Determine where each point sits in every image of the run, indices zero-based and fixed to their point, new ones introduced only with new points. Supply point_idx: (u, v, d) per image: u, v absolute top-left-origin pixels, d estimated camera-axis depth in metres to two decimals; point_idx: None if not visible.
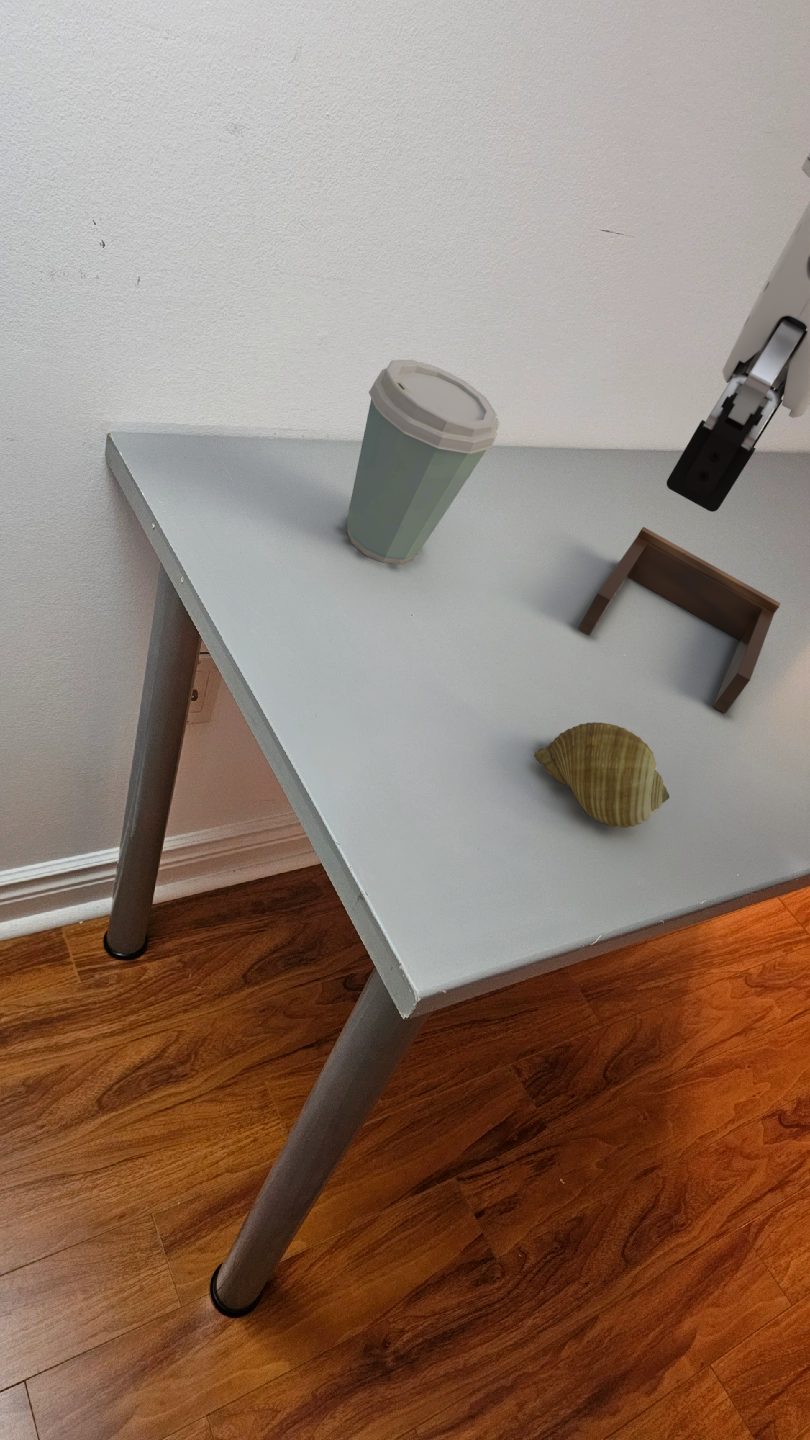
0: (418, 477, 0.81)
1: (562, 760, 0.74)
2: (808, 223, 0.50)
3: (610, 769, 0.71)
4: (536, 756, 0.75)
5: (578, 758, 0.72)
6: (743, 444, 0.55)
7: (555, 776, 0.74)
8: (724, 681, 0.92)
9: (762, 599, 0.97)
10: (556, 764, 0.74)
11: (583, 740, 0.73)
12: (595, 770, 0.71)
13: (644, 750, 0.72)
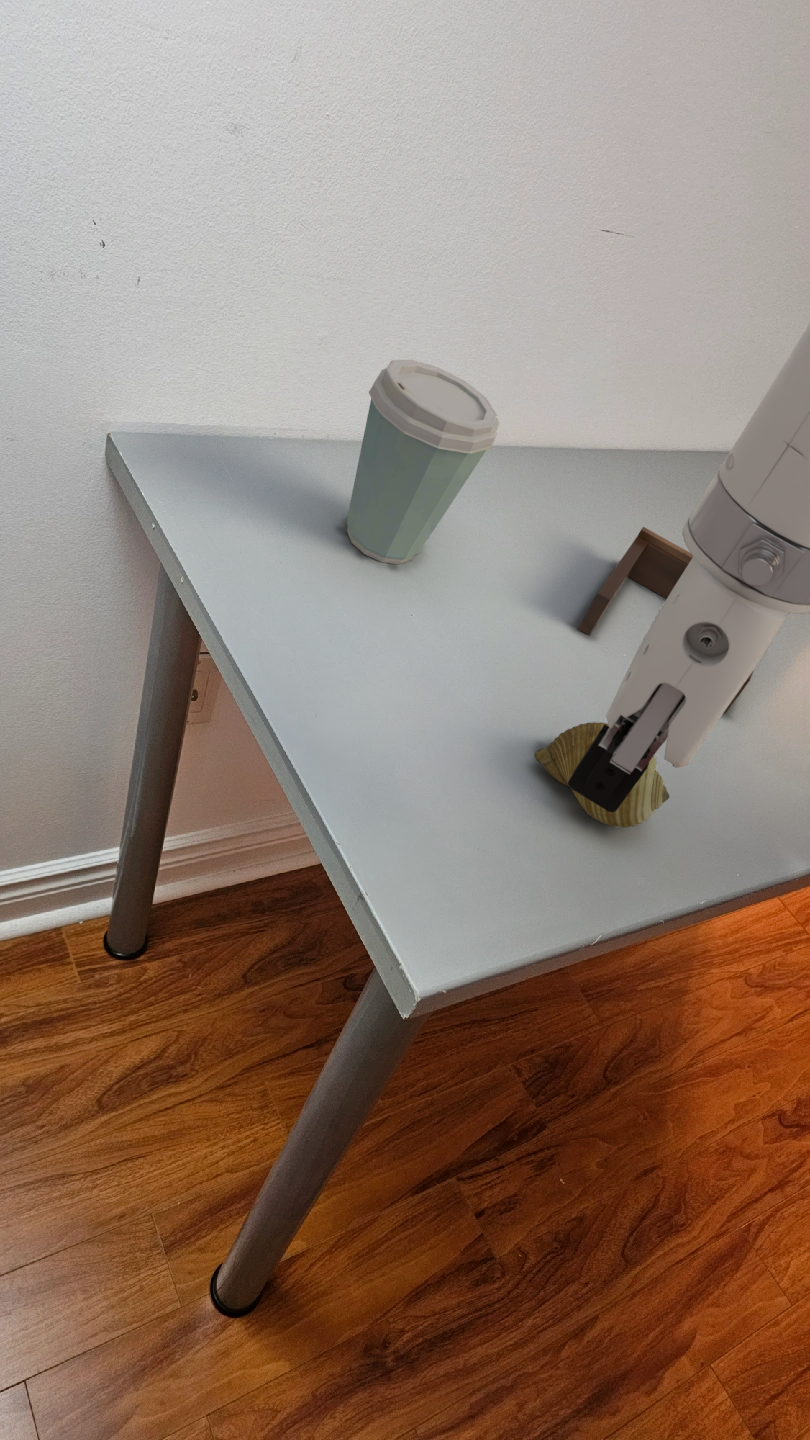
0: (418, 477, 0.81)
1: (562, 760, 0.74)
2: (684, 600, 0.49)
3: None
4: (536, 756, 0.75)
5: (578, 758, 0.72)
6: None
7: (555, 776, 0.74)
8: None
9: None
10: (556, 764, 0.74)
11: (583, 740, 0.73)
12: None
13: None
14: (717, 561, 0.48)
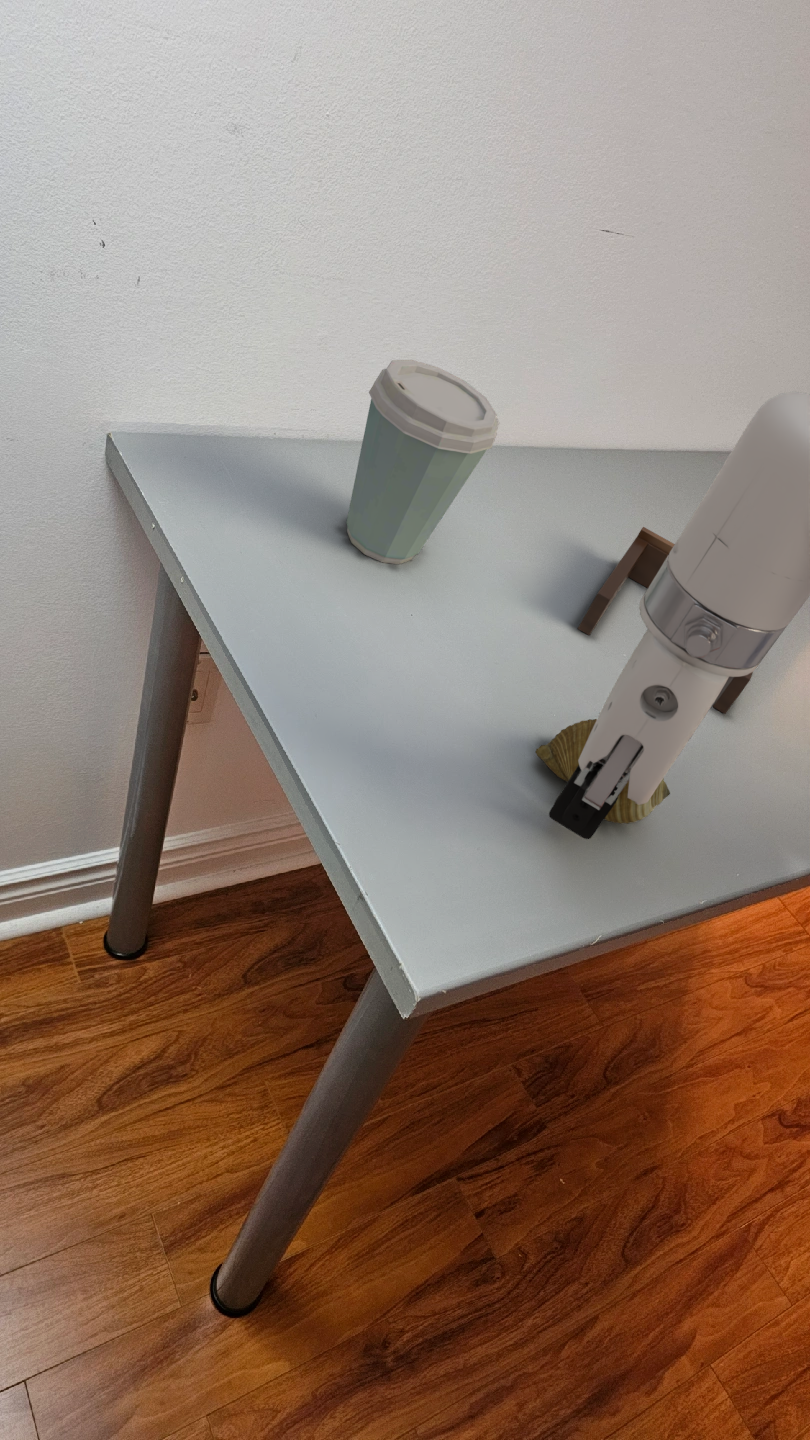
0: (418, 477, 0.81)
1: (563, 756, 0.74)
2: (640, 666, 0.58)
3: None
4: (537, 753, 0.76)
5: (579, 754, 0.72)
6: None
7: (556, 772, 0.75)
8: None
9: None
10: (557, 760, 0.74)
11: (585, 736, 0.73)
12: None
13: None
14: (667, 634, 0.57)
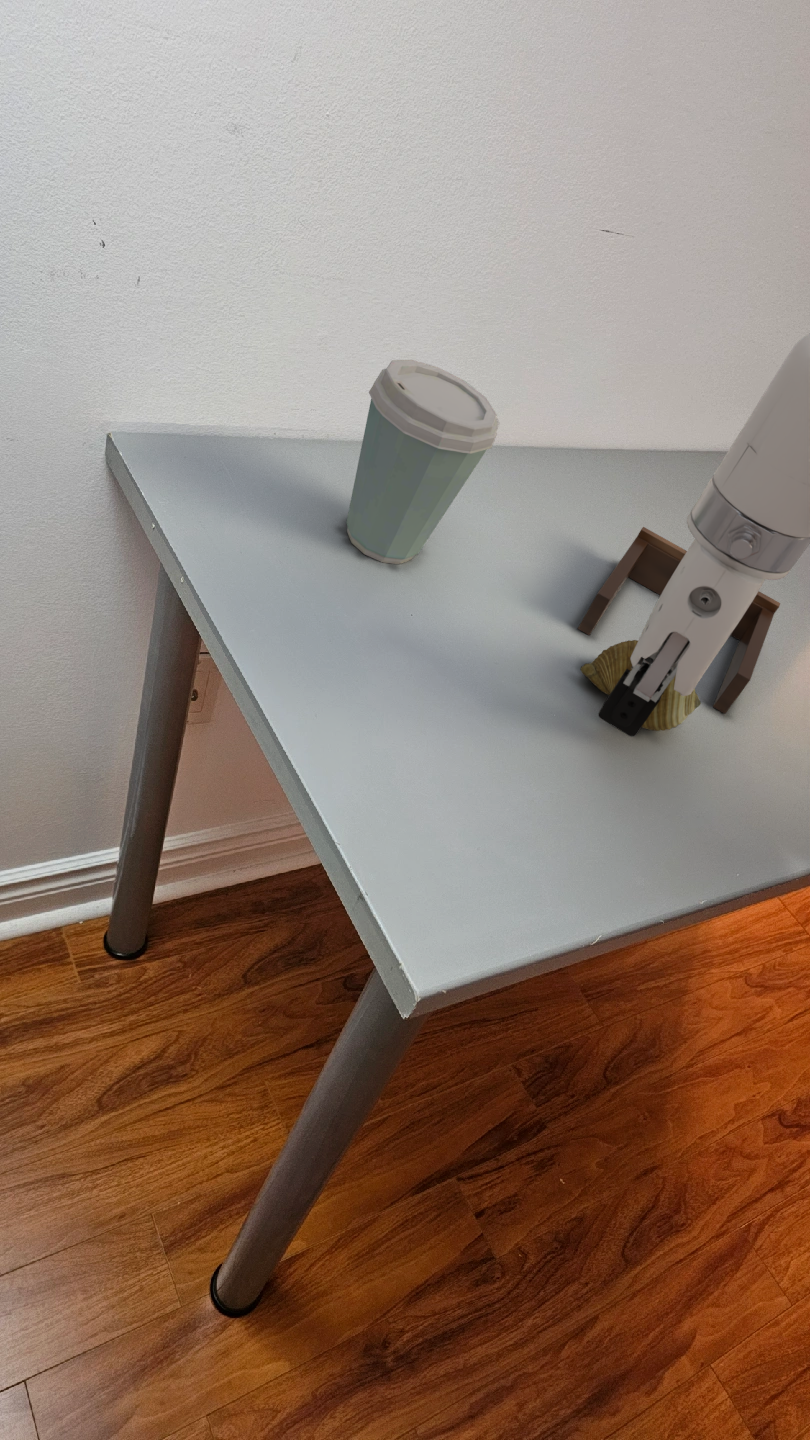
0: (418, 477, 0.81)
1: (606, 672, 0.83)
2: (688, 570, 0.68)
3: None
4: (582, 670, 0.85)
5: (621, 668, 0.82)
6: (650, 699, 0.77)
7: (599, 686, 0.84)
8: (724, 681, 0.92)
9: (762, 599, 0.97)
10: (600, 676, 0.84)
11: (625, 653, 0.82)
12: None
13: None
14: (712, 542, 0.67)
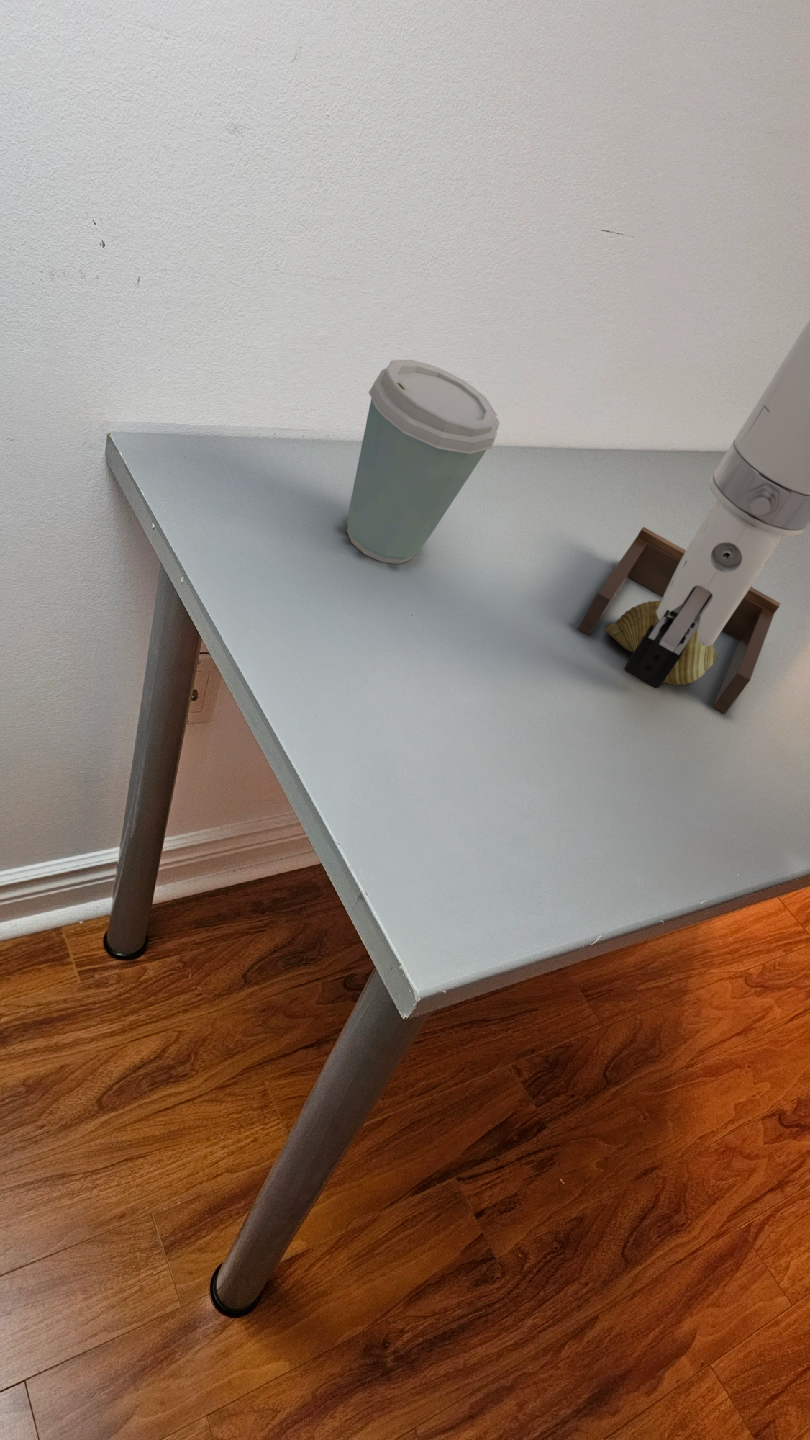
0: (418, 477, 0.81)
1: (629, 630, 0.89)
2: (711, 528, 0.73)
3: None
4: (606, 630, 0.91)
5: (644, 626, 0.88)
6: (673, 652, 0.82)
7: (623, 644, 0.90)
8: (724, 681, 0.92)
9: (762, 599, 0.97)
10: (624, 634, 0.90)
11: (648, 612, 0.88)
12: None
13: None
14: (734, 501, 0.73)
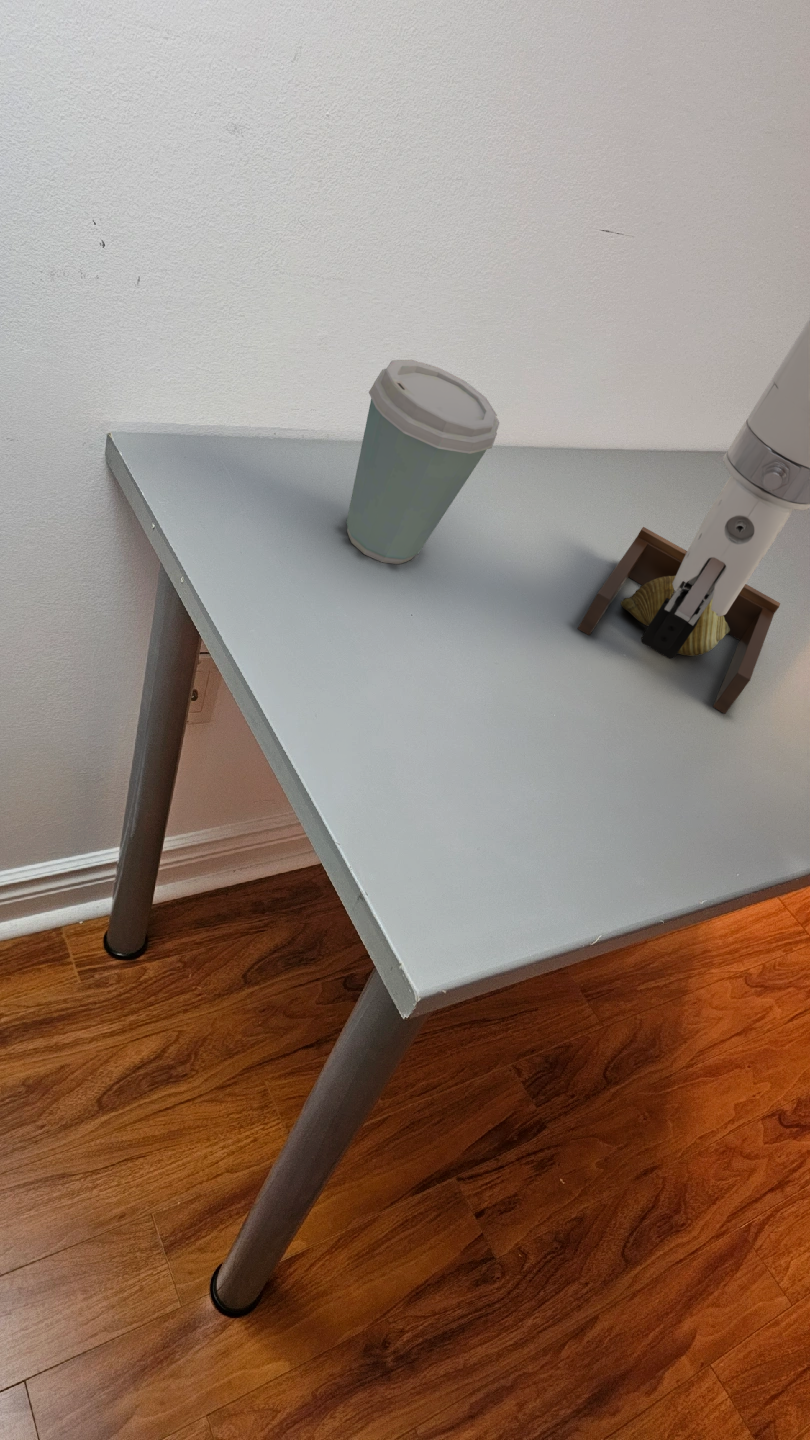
0: (418, 477, 0.81)
1: (644, 604, 0.93)
2: (725, 502, 0.78)
3: None
4: (622, 604, 0.95)
5: (659, 600, 0.92)
6: (688, 623, 0.87)
7: (638, 618, 0.94)
8: (724, 681, 0.92)
9: (762, 599, 0.97)
10: (639, 608, 0.94)
11: (662, 586, 0.92)
12: None
13: None
14: (746, 476, 0.77)
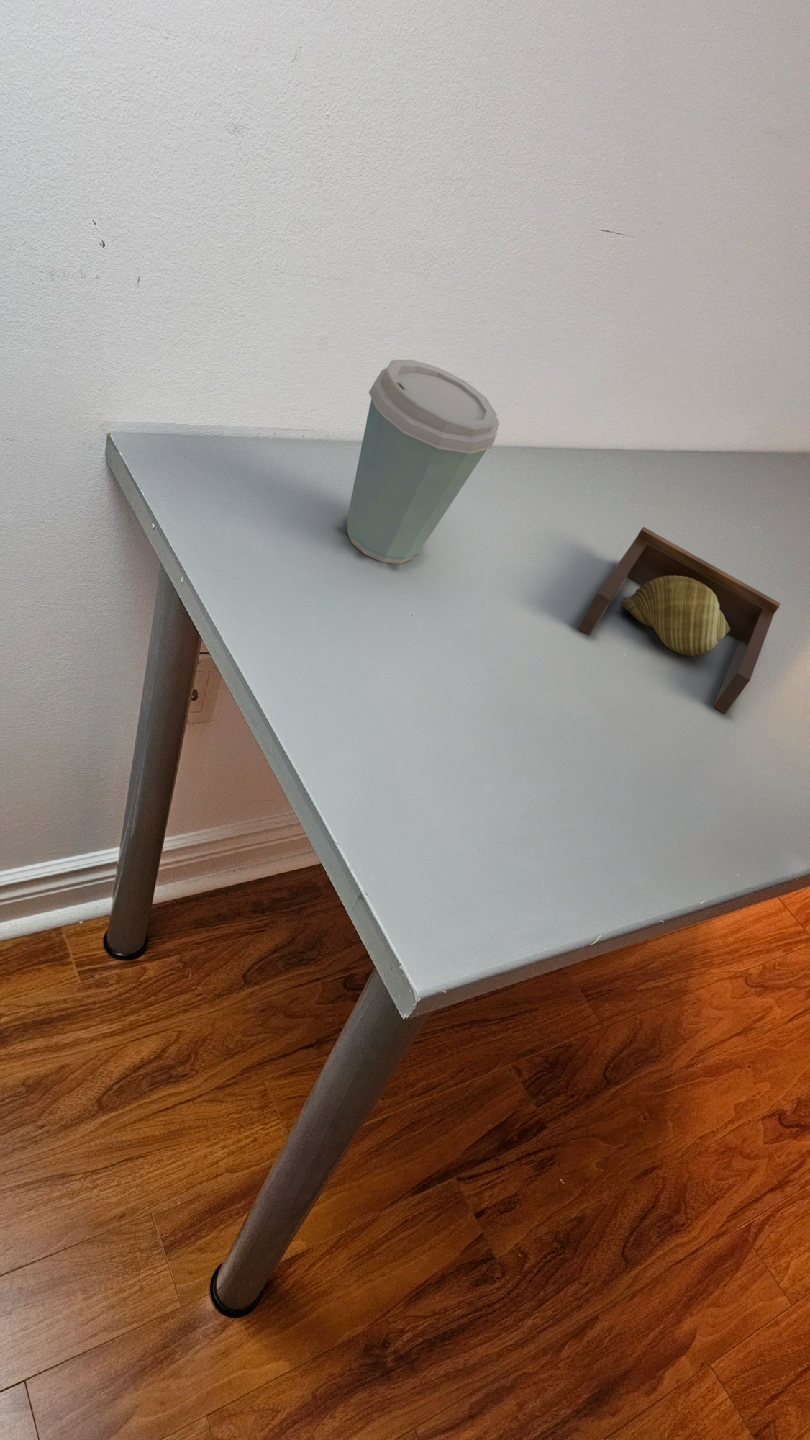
0: (418, 477, 0.81)
1: (645, 604, 0.93)
2: None
3: (686, 606, 0.91)
4: (622, 604, 0.95)
5: (659, 600, 0.92)
6: None
7: (639, 618, 0.94)
8: (724, 681, 0.92)
9: (762, 599, 0.97)
10: (639, 608, 0.94)
11: (662, 586, 0.92)
12: (674, 608, 0.91)
13: (710, 592, 0.92)
14: None
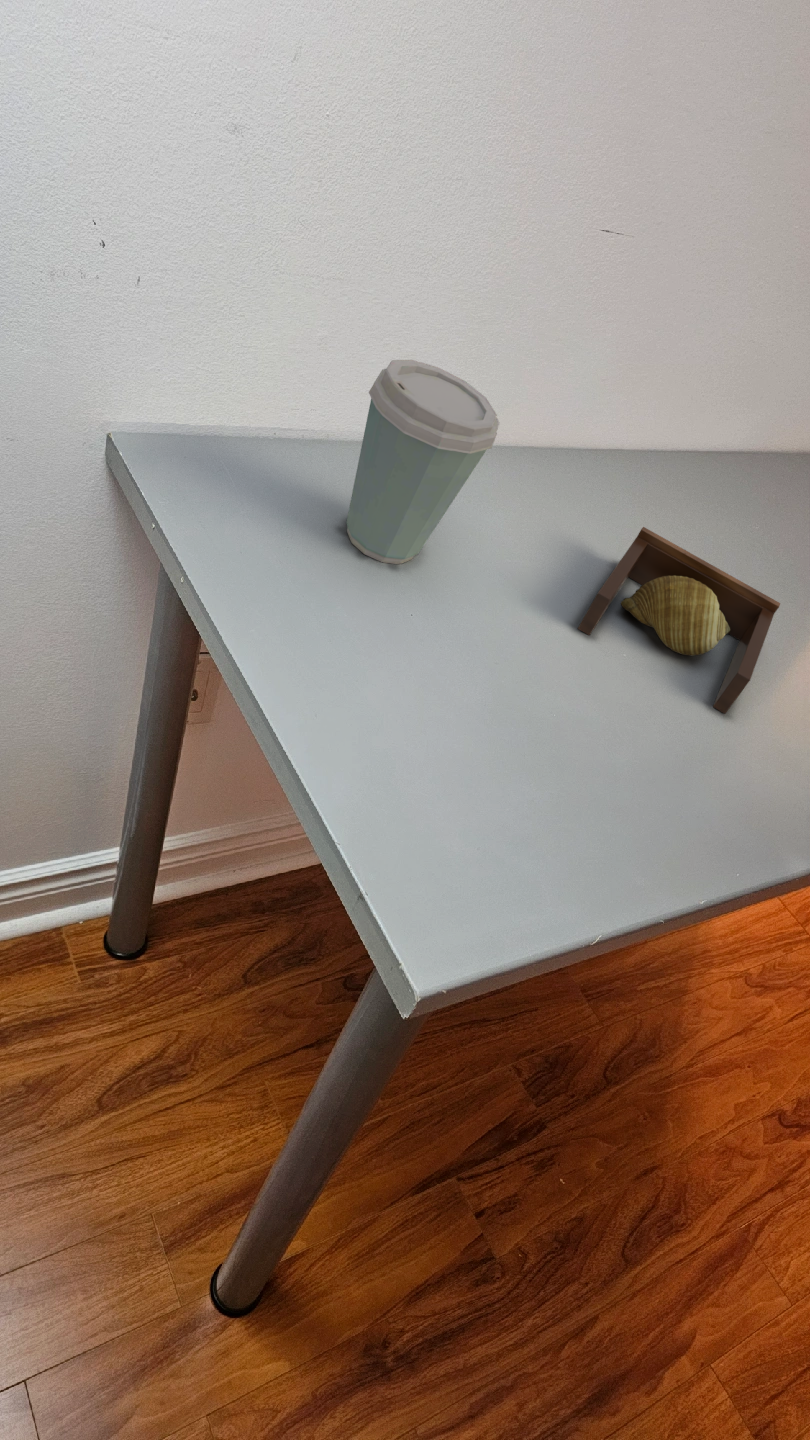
0: (418, 477, 0.81)
1: (645, 604, 0.93)
2: None
3: (686, 606, 0.91)
4: (622, 604, 0.95)
5: (659, 600, 0.92)
6: None
7: (639, 618, 0.94)
8: (724, 681, 0.92)
9: (762, 599, 0.97)
10: (639, 608, 0.94)
11: (662, 586, 0.92)
12: (674, 607, 0.91)
13: (710, 592, 0.92)
14: None
